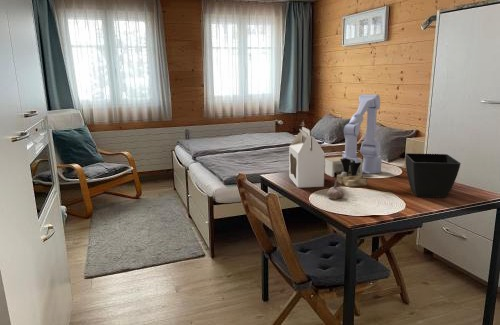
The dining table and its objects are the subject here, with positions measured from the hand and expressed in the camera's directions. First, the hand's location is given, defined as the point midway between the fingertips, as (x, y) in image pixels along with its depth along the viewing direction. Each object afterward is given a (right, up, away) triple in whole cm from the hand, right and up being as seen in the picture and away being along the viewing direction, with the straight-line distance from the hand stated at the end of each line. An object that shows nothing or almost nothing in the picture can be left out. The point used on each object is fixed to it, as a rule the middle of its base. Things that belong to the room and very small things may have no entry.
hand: (349, 173), depth 195 cm
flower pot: (+30, -9, -21) cm, 38 cm away
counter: (+1, 0, +18) cm, 18 cm away
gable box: (-22, -4, +4) cm, 23 cm away
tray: (+1, -5, -2) cm, 5 cm away
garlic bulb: (-13, -10, -24) cm, 29 cm away
